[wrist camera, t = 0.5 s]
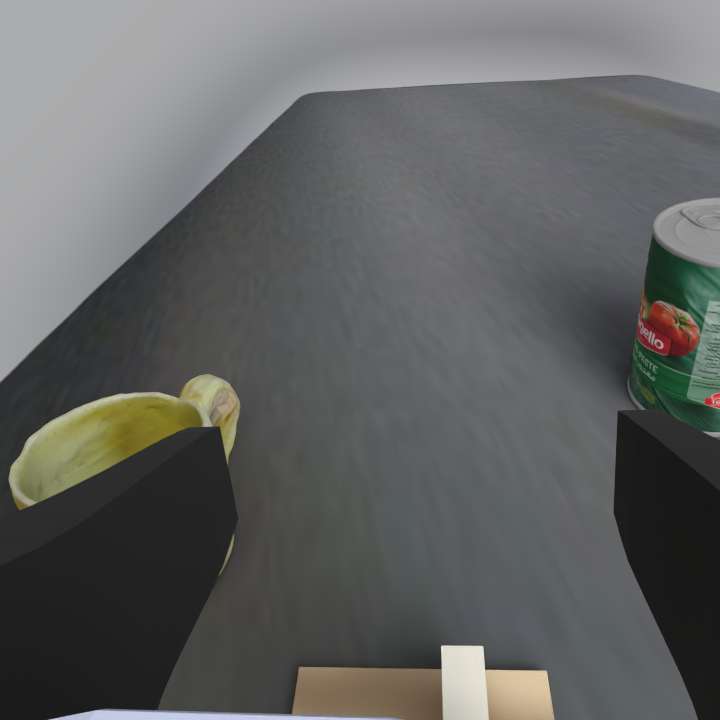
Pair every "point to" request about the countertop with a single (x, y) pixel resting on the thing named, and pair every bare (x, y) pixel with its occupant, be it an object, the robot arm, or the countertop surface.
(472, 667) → the white piece
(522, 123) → the countertop surface
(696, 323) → the canned tomato
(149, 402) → the mug
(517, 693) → the dock
